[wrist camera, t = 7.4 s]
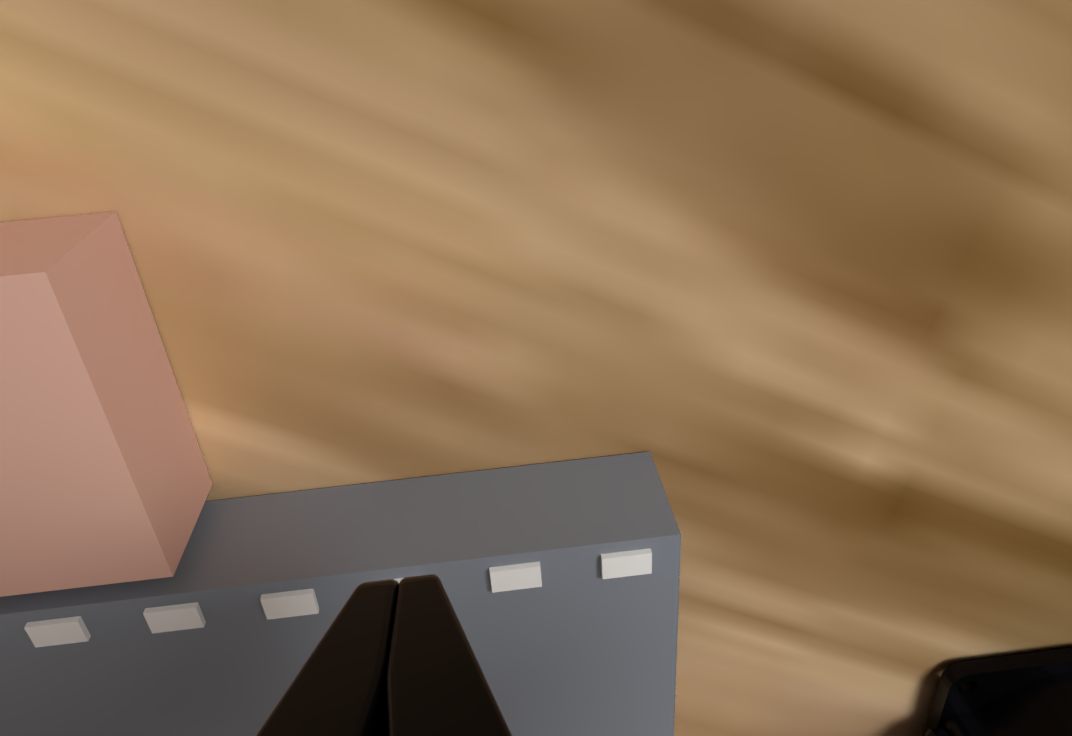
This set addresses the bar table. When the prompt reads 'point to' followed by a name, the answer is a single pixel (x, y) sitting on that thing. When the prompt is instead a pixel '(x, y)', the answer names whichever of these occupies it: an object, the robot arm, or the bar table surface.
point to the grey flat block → (363, 556)
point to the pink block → (87, 415)
